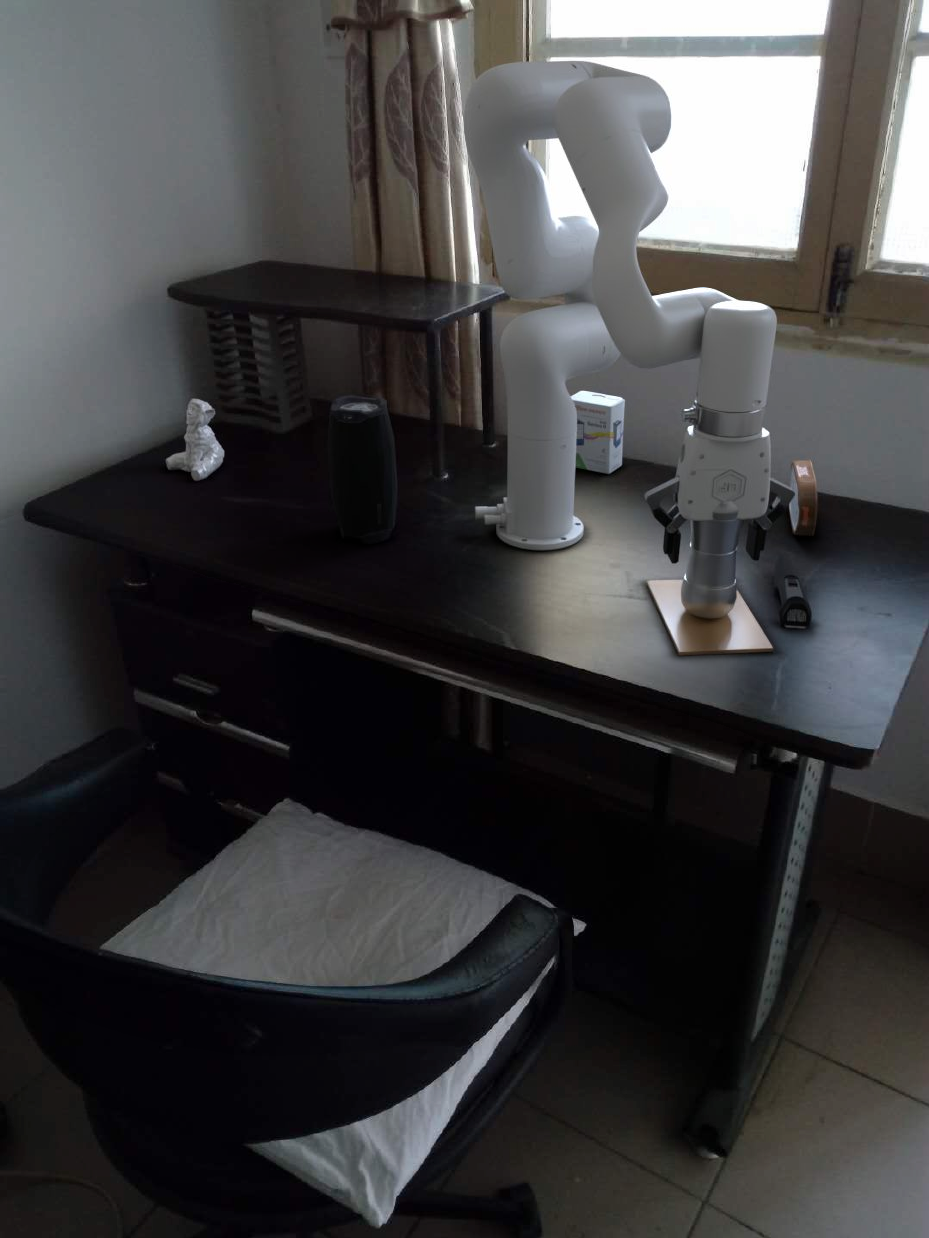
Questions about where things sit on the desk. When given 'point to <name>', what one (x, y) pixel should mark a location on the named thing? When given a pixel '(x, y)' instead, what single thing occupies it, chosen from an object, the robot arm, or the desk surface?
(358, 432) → the portable speaker
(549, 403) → the robot arm
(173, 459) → the sitting furry creature
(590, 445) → the ink box
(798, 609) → the electric trimmer
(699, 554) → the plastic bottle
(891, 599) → the desk surface
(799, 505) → the tin
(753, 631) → the wooden board
